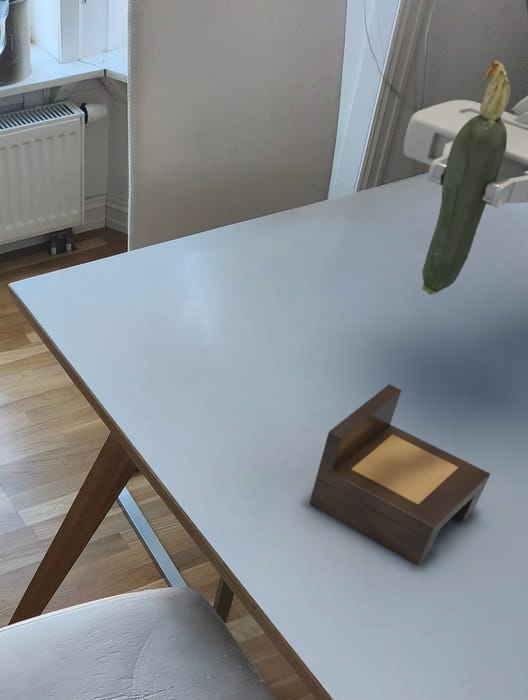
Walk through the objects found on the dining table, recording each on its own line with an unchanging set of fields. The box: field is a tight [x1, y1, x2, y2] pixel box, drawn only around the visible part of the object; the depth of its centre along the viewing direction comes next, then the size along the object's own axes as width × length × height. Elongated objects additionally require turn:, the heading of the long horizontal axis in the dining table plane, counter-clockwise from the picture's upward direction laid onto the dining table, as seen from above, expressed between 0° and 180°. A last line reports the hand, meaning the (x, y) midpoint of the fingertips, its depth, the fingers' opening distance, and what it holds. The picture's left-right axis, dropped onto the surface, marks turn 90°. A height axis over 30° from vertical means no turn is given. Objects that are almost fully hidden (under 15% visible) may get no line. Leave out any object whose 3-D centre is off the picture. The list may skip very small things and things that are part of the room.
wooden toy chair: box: [308, 383, 491, 566], centre depth 82 cm, size 12×10×9 cm
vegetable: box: [421, 60, 511, 296], centre depth 78 cm, size 4×4×20 cm
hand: (463, 185), depth 77 cm, fingers closed on vegetable, 4 cm apart
